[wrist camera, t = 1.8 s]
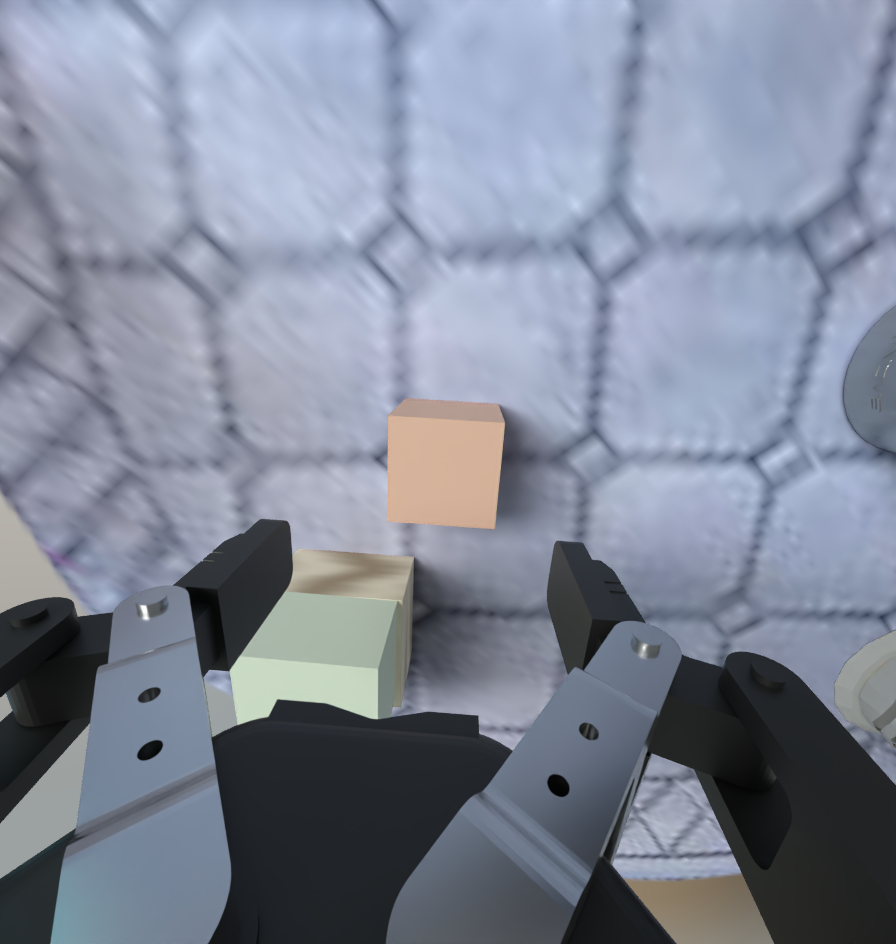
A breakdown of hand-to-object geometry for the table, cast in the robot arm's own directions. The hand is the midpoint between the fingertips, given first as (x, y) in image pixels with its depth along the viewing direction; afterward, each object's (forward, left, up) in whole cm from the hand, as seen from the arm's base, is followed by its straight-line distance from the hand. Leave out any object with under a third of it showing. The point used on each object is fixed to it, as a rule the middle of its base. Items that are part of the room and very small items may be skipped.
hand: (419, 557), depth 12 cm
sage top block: (+6, +12, -9) cm, 16 cm away
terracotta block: (0, 0, -14) cm, 14 cm away
